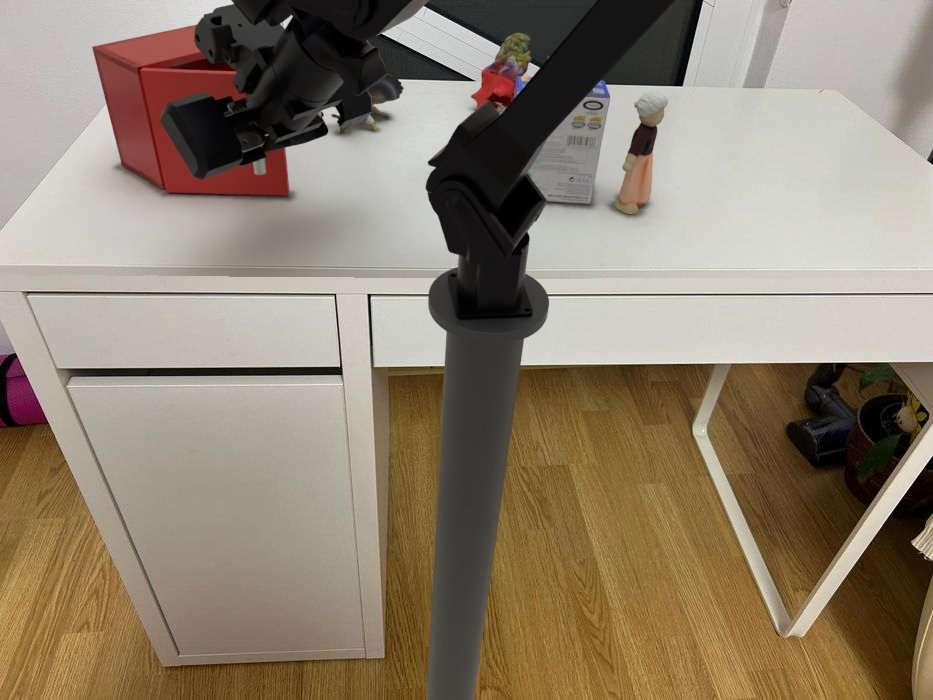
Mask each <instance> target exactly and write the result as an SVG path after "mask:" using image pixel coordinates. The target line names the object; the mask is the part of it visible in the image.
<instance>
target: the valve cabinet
mask: <svg viewBox="0 0 933 700" xmlns="http://www.w3.org/2000/svg"><path fill="white" fill-rule="evenodd" d="M196 25H197V24H194V25H193V24H192V25H187V26H183V27H178V28H174V29H169V30H164V31H160V32H155V33H150V34H146V35H141V36H136V37H132V38H127V39H122V40H117V41H112V42H108V43H103V44H98V45H94V46H91V48H92V53H93V56H94V61H95V65H96V69H97V73H98V76H99V79H100V80H99V81H100V85H101V89H102V92H103V96H104V100H105V105H106V108H107V112H108V115H109V120H110V123H111V128H112V132H113V135H114V140H115V144H116V148H117V152H118V155H119V159H120V164H121V167H122V168H125V169H127V170H128V171H130V172H131V173H133V174H135V175H137V176H138V177H140V178H141V179H144V180H145V181H147V182H148V183H150V184H152V185H153V186H156V187H157V188H159V189H161V190H163V191H164V190H166V187H165V182H164V178H163V173H162V168H161V164H160V159H159V154H158V150H157V145H156V141H155V136H154V131H153V127H152V122H151V117H150V113H149V108H148V104H147V99H146V94H145V90H144V85H143V80H142V76H141V69H142V68H159V69H184V70H209V71H234V70H233V69H232V68H231V67H230V66H229V64H227V63H226V62H218V63H215V64H212V63H210V62H209V60H208V59H207V58H206V57H205V56H204V55H203V54H202V53H201V51H200V50H199V49H198V48H197V47H196V44H195V41H194V35H195V27H196ZM234 72H236V71H234Z"/></svg>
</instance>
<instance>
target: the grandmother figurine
mask: <svg viewBox="0 0 933 700" xmlns="http://www.w3.org/2000/svg"><path fill="white" fill-rule="evenodd" d="M668 105H669V98H668V97H667V96H666V95H665V94H664V93H662V92H659V91H658V90H657V91H656V90H651V91H648V92H645V93H644V94H642V95H641V96H640V97H639V98H638V100H637V101H635V102H634V103H633V106H634V108H635V109H636V113H637V114H638V119H639V121H640V123H639V125H638V126H637V128H636V129H635V130H634V131H633V135H632V137H631V142H630V145H629V148H628V151H627V154H626V157H625V160H624V163H623V164H622V167H621V168H622V170H623V172H625V173H624V177H623V180H622V184H621V187H620V190H619V193H618V200H616V202H615V203H614V205H613V207H614V208H615V209H617V210H619V211H620V212H622V213H623V214H626V215H627V214H628V215H635V214H637V213H638V212H639V207H638V206H643V205H644V204H645V203H648V202H650V200H651V193H652V187H653V185H652V184H653V166H654V153H653V151H654V147H655V144H656V140H657V136H658V126H659V124H661V123H662V121H663V119H664V118H665V109H666V108H667V107H668Z"/></svg>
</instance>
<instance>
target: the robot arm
mask: <svg viewBox="0 0 933 700" xmlns="http://www.w3.org/2000/svg"><path fill="white" fill-rule="evenodd" d="M230 1H231V3H233V4H228V5H222V6H219V7H216V8H214V9H213V11H212V12H209V13H208V12H207V13H204V14H203V17H201V18H200V19H199V21H198V23H197V24H195V25H196V27H195V35H194V41H195V44H196V47H197V48H198V49H199V50H200V51H201V53H202V54H203V55H204V56H205V57H206V58H207V59H208V60H209V62H210V63H212V64H215V63H218V62H226V63H227V64H229V66H230V67H231V68H232V69H233V70H234V71H236V72H237V73H236V74H235V76H234V78H233V79H232V82H233V84H234V86H235V88H236V89H237V91H238V93H239V94H242V93H245V95H246V98H243V99H240V100H237V101H234V100H233V98H232V97H231V96H228V97H225V98H221V99H218V100H215V99H214V97H213V96H212V95H210V94H208V93H206V92H201V93H197V94H194V95H190V96H187V97H183V98H180V99H176V100H173V101H170V102H167V104H166V106H165V108H164V110H163V112H162V115H161V119H160V122H161V124H162V126H163V127H164V129H165V131H166V132H167V134H168V136H169V137H170V139H171V141H172V142H173V144H174V146H175V147H176V149H177V151H178V152H179V154H180V156H181V157H182V159H183V161H184V162H185V164H186V166H187V167H188V169H189V171H190V172H191V174H192V176H193V177H196V178H198V179H201V180H205V179H207V178H210V177H213V176H215V175H218V174H221V173H224V172H226V171H229V170H231V169H232V168H234V167H235V166H245V165H247V164H250V163H253V162H256V161H258V160H261V159H264V158H266V157H267V156H266V154H265V153H264V152H269V151H273V150H277V149H282V148H285V149H286V148H289V147H293V146H298V145H303V144H307V143H309V142H312V141H315V140H318V139H320V138H323V137H325V136H327V135H328V134H329V127H328V125H327V124H326V122H325V120H324V119H323V117H324V116H325V113H324V110H328V109H330V108H335V109H336V111H337V112H338V115H339V114H340V116H341V117H340V118H339V119H337V120H336V123H337V124H338V126H339V128H340V127H341V128H346V127H351V126H353V125H356V124H359V123H361V122H362V123H363V121H364V120H365V119H366V118H367V116H368V115H369V114H370V115H371V114H372V97H371V96H370V94H369V92H368V90H367V89H369V88H370V87H372V86H373V85H374V84H376V83H377V82H378V81H380V80H381V79H383V78H384V77H385V76H386V74H388V73H387V69H386V64H385V62H384V60H383V59H382V58H381V55H380V53H381V52H380V49H379V48H378V47H377V46H373V45H372V44H371V43H370V42H369V40H371V39H373V38H376V37H378V36H379V35H382V34H383V33H385V32H387V31H388V30H392V29H393V28H394V27H396V26H398V25H400V24H402V23H404V22H405V21H407V20H409V19H411V18H412V17H414V16H415V15H416V14H417V13H418V12H419V11H420V10H421V9H422V8H424V6H426V4H427V3H428V2H429V1H430V0H230ZM675 2H676V0H596V1H595V2H594V3H593V4H592V6H591V7H590V8H589V9H588V10H587V12H585V14H584V15H583V16H582V17H581V18H580V20H578V22H577V23H576V25H574V27H573V28H572V29H571V30H570V32H569V33H568V34H567V35H566V36H565V38H564V39H563V40H562V41H561V42H560V44H559V45H558V46H557V47H556V48H555V49H554V51H552V53H551V54H550V55H549V56H550V57H549V58H548V59H547V58H546V60H545V61H544V63H543V64H542V65H541V66H540V67H539V68H538V70H537V71H536V72H535V73H534V75H532V76H531V77H532V78H531V79H530V80H529V82H528V83H527V84H526V85H525V86H524V88H523V89H522V90H521V91H520V92H519V94H518V95H517V96H516V97H515V98H514V99H513V101H512V102H511V103H510V104H509V105H508V107H505V108H503V109H502V110H501V111H500V112H499V111H498V109H497V108H496V109H495V107H494V106H493V105H492V103H491V102H490V101H489V100H487V101H486V102H484V103H483V104H482V105H481V106H480V107H479V108H478V107H477V108H476V109H474V111H472V113H470V115H468V116H467V117H466V118H465V119H464V120H463V121H461V122H460V123H459V124H458V125H457V126H456V128H455V130H454V131H453V133H452V134H451V136H450V138H449V140H448V141H447V143H446V145H444V146H443V147H442V148H441V149H440V150H439V151H438V152H437V153H435V154H434V155H433V156H432V157H431V158H430V159H429V160H427V165H428V166H429V167H432V168H433V170H431V172H430V173H429V176H428V177H427V179H426V183H425V188H424V189H425V191H426V192H427V197H428V201H429V204H430V206H431V208H432V210H433V212H434V213H435V214H436V215H437V219H438V221H439V224H440V227H441V229H442V230H441V231H442V234H443V237H444V240H445V243H446V247H447V251H448V252H449V253H451V254H454V255H458V260H457V267H458V272H455V273H449V274H448V283H449V287H450V292H451V296H452V300H453V305H454V309H455V313H456V317H457V318H458V319H460V320H476V319H500V318H525V317H531V316H532V315H533V308H532V306H531V303H530V300H529V297H528V295H527V292H526V289H525V286H524V279H525V274H526V271H527V262H528V256H529V248H530V241H531V240H530V239H531V237H530V234H529V230H530V229H531V228H532V226H533V225H534V223H536V222H537V220H538V219H539V218H540V216H541V215H542V213H543V211H544V210H545V208H546V206H547V204H548V201H547V199H546V198H545V197H544V195H543V194H542V193H541V191H540V190H539V188H538V187H537V186H536V184H535V183H534V182H533V180H532V179H531V178H530V176H529V175H528V174H527V172H528V171H529V169H530V168H531V166H532V165H533V163H534V161H535V160H536V158H537V156H538V155H539V153H540V151H541V149H542V147H543V146H544V144H545V142H546V140H547V138H548V137H549V136H550V135H551V133H552V132H553V131H554V130H555V129H556V128H557V127H558V126H559V125H560V124H561V123H562V122H563V121H564V120H565V118H566V117H567V116H568V115H569V114H570V113H571V112H572V111H573V110H574V109H575V108H576V107H577V106H578V104H579V103H580V102H581V101H582V100H583V99H584V98H585V97H586V96H587V95H588V94H589V93H590V92H591V91H592V89H593V88H594V87H595V86H596V85H597V84H598V83H599V82H600V81H601V80H602V81H603V79H604V78H605V77H606V76H607V75H608V74H609V72H611V70H612V69H613V68H614V67H615V66H616V65H617V64H618V63H619V61H621V60H622V59H623V57H625V55H626V54H627V53H628V52H629V51H630V50H631V49H632V48H633V47H634V46H635V44H637V42H638V41H639V40H640V39H641V38H643V36H644V35H645V34H646V33H647V31H648V30H650V29H651V27H652V26H653V25H654V24H655V23H656V22H657V21H658V20H659V19H660V18H661V17H662V16H663V15H664V13H665V12H666V11H668V9H669V8H670V7H671V6H672V5H673V4H674V3H675ZM290 17H291V18H290ZM289 18H290V20H289V22H288V23H287V25H286V27H285V28H284V26H283V24H282V23H283V22H285V21H287V19H289ZM333 106H335V107H333ZM262 145H263V148H264V151H263V149H262V148H261V146H262Z"/></svg>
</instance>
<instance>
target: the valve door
mask: <svg viewBox="0 0 933 700" xmlns="http://www.w3.org/2000/svg"><path fill="white" fill-rule="evenodd" d="M236 73H237V72H234V71H209V70H184V69H159V68H142V69H141V76H142V80H143V85H144V90H145V94H146V99H147V104H148V108H149V113H150V117H151V122H152V127H153V131H154V136H155V141H156V145H157V150H158V154H159V159H160V164H161V168H162V173H163V178H164V182H165V187H166V189H165V191H166V193H179V194H180V193H181V194H182V193H184V194H215V195H216V194H219V195H221V194H222V195H254V196H256V195H257V196H258V195H259V196H290V193H291V191H290V181H289V180H290V179H289V170H288V162H287V152H286V151H287V150H286V148H282V149H277V150H273V151H269V152H264V153H265V154H266V156H267V157H266V158H264V159H261V160H258V161H256V162H253V163H250V164H247V165H245V166H235V167H234V168H232V169H231V170H229V171H226V172H224V173H221V174H218V175H215V176H213V177H210V178H207V179H205V180H201V179H198V178H196V177H193V176H192V174H191V172H190V171H189V169H188V167H187V166H186V164H185V162H184V161H183V159H182V157H181V156H180V154H179V152H178V151H177V149H176V147H175V146H174V144H173V142H172V141H171V139H170V137H169V136H168V134H167V132H166V131H165V129H164V127H163V126H162V124H161V122H160V119H161V115H162V112H163V110H164V108H165V106H166V104H167V102H170V101H173V100H176V99H180V98H183V97H187V96H190V95H194V94H197V93H201V92H206V93H208V94H210V95H212V96H213V97H214V99H215V100H218V99H221V98H225V97H228V96H231V97H232V98H233V100H234V101H237V100H240V99H243V98H246V95H245V93H242V94H239V93H238V91H237V89H236V88H235V86H234V84H233V82H232V79H233V78H234V76H235V74H236ZM261 148H262V149H263V151H264V148H263V145H262V146H261Z"/></svg>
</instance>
